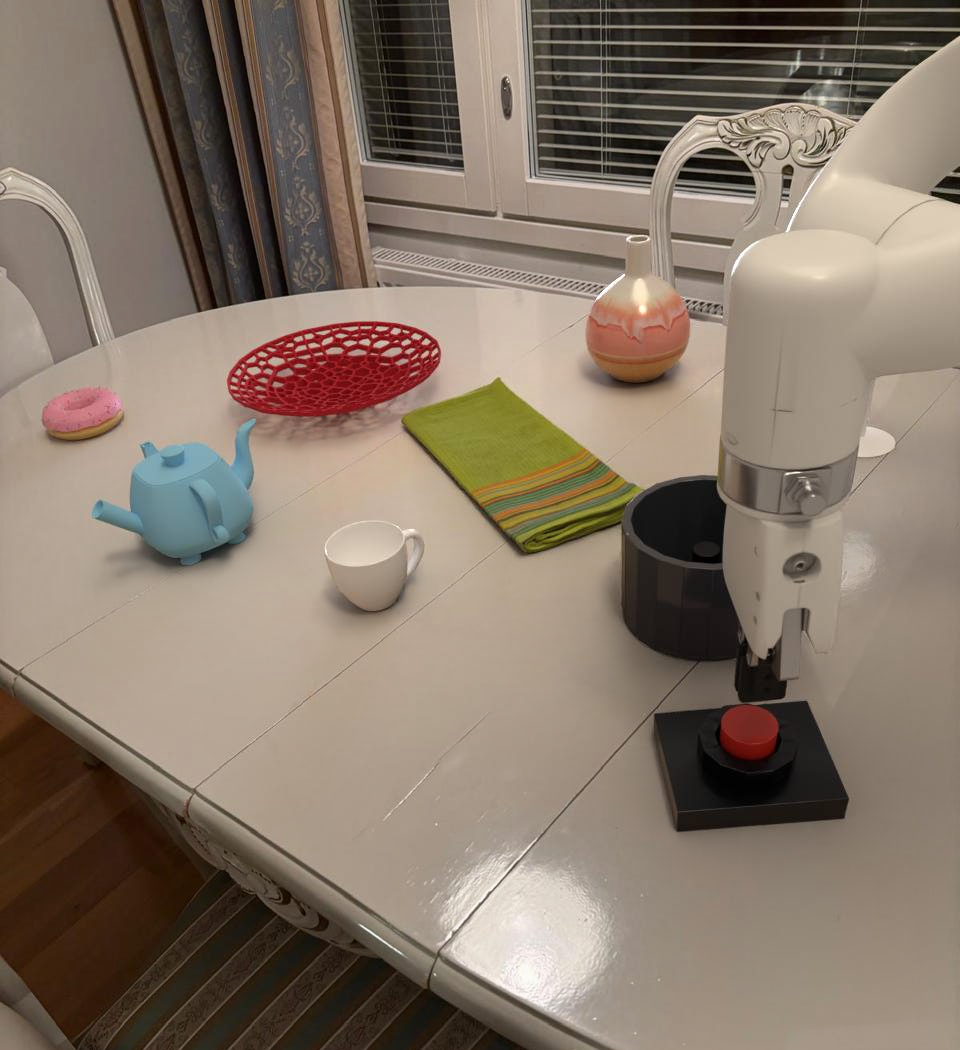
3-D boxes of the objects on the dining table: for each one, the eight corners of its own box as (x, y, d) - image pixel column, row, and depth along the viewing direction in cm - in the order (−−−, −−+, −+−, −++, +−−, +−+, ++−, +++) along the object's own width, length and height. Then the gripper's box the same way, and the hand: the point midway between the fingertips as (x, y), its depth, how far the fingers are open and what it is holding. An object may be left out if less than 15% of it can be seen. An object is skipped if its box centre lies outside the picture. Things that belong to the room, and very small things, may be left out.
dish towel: (524, 560, 94) (522, 534, 92) (399, 426, 119) (395, 403, 117) (652, 514, 98) (652, 488, 96) (504, 395, 123) (502, 372, 121)
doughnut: (126, 402, 134) (117, 375, 131) (128, 433, 126) (117, 405, 123) (50, 418, 132) (38, 391, 129) (46, 452, 124) (33, 423, 121)
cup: (324, 596, 92) (309, 541, 88) (408, 557, 96) (398, 502, 92) (361, 633, 87) (347, 576, 83) (448, 590, 91) (440, 534, 87)
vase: (605, 403, 119) (604, 264, 107) (573, 363, 129) (569, 232, 118) (704, 383, 120) (713, 244, 109) (664, 345, 131) (669, 215, 119)
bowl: (365, 465, 112) (358, 427, 109) (191, 427, 125) (180, 393, 122) (483, 367, 131) (480, 333, 128) (321, 344, 144) (315, 312, 140)
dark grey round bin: (760, 557, 90) (771, 468, 84) (804, 654, 79) (820, 559, 73) (612, 571, 91) (612, 483, 84) (634, 669, 80) (636, 576, 73)
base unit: (803, 719, 73) (810, 683, 71) (844, 818, 65) (853, 781, 63) (653, 732, 74) (654, 696, 71) (676, 831, 66) (678, 795, 63)
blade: (752, 590, 86) (759, 533, 81) (761, 611, 83) (768, 553, 79) (645, 600, 86) (646, 543, 82) (650, 621, 84) (652, 564, 79)
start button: (767, 718, 69) (770, 702, 68) (782, 758, 66) (785, 741, 65) (714, 723, 69) (715, 706, 68) (726, 763, 66) (728, 746, 65)
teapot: (172, 502, 110) (141, 415, 103) (280, 502, 107) (255, 413, 100) (114, 578, 99) (74, 487, 91) (233, 580, 96) (202, 487, 89)
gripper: (900, 530, 47) (847, 768, 59) (812, 399, 58) (783, 621, 70) (752, 546, 47) (729, 779, 59) (693, 413, 59) (684, 631, 70)
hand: (759, 693), depth 64 cm, fingers closed
